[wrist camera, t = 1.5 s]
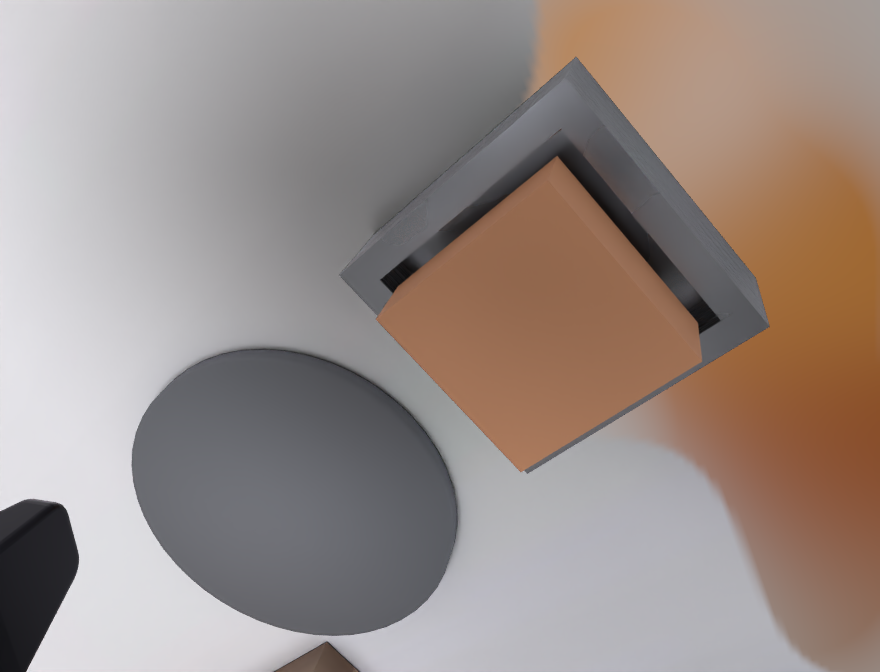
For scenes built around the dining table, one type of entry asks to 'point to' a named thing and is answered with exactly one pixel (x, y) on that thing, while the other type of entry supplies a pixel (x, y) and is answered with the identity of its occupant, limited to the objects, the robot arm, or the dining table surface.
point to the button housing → (608, 182)
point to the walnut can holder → (319, 662)
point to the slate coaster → (295, 492)
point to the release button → (542, 319)
